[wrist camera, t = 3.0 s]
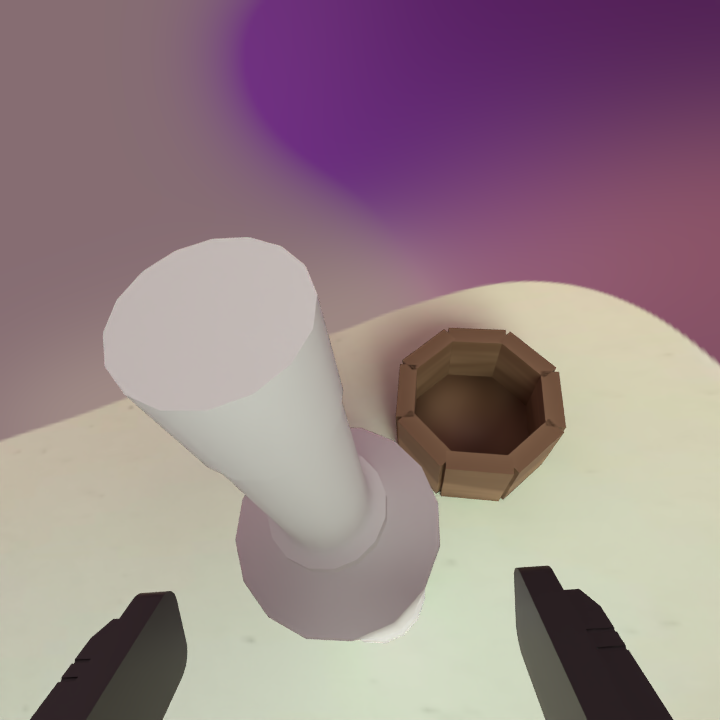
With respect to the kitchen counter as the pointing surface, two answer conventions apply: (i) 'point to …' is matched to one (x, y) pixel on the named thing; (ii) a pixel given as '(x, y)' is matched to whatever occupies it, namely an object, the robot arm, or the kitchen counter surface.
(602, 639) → the robot arm
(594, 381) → the kitchen counter surface
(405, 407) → the wooden cup
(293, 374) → the bottle
